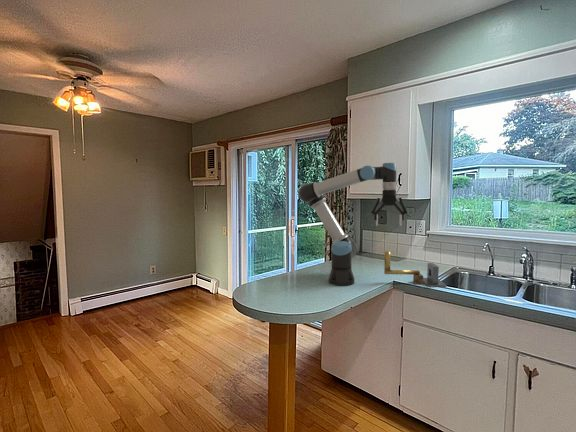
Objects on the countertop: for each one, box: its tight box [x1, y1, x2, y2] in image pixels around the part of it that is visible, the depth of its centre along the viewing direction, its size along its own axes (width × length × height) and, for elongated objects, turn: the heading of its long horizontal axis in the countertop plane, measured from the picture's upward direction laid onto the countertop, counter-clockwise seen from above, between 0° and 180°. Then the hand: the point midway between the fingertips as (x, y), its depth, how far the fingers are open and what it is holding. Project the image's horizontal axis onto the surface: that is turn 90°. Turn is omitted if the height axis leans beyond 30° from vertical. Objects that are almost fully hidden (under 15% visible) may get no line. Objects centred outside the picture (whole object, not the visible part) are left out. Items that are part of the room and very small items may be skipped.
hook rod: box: [383, 250, 421, 275], centre depth 183 cm, size 20×3×13 cm, turn 85°
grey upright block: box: [423, 262, 447, 288], centre depth 182 cm, size 10×14×10 cm
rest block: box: [412, 273, 424, 285], centre depth 183 cm, size 4×5×5 cm
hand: (388, 225), depth 186 cm, fingers open, 13 cm apart
